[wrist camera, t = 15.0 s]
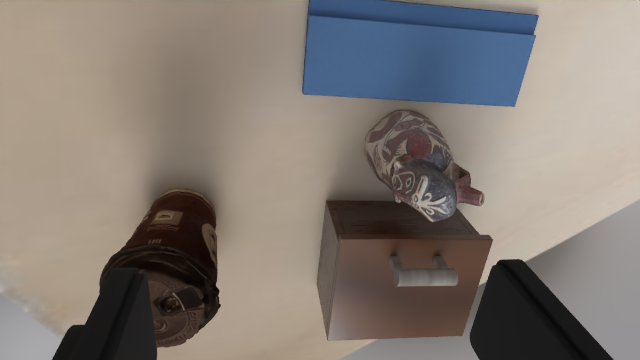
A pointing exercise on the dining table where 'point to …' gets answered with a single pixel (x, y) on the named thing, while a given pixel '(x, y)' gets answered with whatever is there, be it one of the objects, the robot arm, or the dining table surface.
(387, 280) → the bread bin lid
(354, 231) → the bin
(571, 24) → the dining table surface
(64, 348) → the robot arm
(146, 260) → the coffee cup
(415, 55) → the dish cloth
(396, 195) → the figurine
